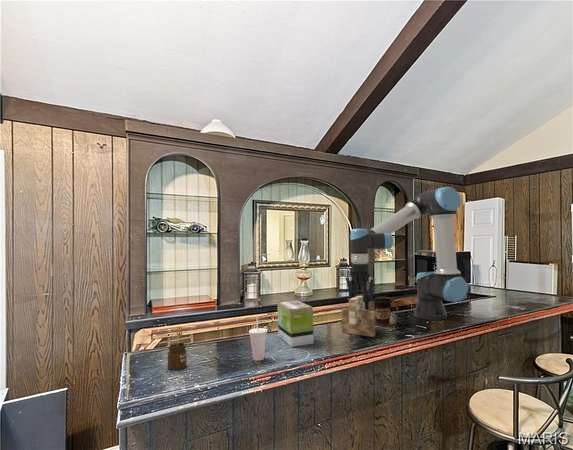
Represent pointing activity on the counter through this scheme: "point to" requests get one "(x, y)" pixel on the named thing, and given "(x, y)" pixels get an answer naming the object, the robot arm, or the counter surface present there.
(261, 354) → the smoothie
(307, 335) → the tea box
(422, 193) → the robot arm
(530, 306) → the counter surface
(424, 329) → the counter surface
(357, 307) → the maple plate
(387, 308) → the coffee cup
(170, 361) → the utensil holder
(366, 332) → the walnut board
